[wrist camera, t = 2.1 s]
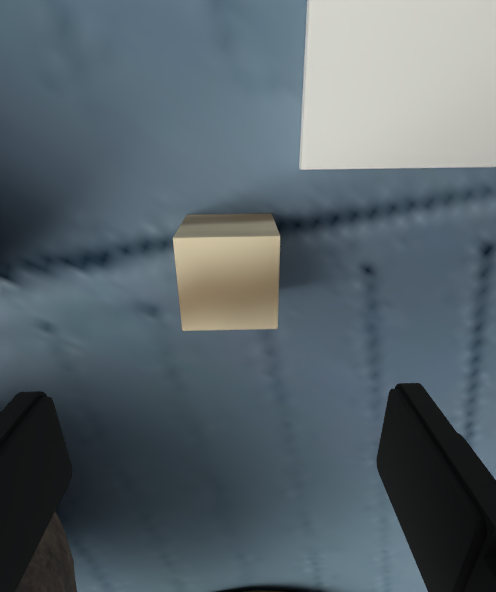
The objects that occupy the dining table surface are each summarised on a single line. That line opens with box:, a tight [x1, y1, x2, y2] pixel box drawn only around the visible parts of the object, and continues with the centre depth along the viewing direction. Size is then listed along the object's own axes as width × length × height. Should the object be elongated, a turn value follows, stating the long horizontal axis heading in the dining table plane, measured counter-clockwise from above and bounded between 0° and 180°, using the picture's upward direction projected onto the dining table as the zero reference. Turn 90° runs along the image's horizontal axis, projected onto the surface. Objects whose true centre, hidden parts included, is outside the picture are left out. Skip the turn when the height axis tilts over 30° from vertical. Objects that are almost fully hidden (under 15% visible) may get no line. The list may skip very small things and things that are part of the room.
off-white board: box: [299, 0, 496, 170], centre depth 17 cm, size 14×14×1 cm
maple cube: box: [173, 213, 280, 331], centre depth 20 cm, size 5×5×5 cm
